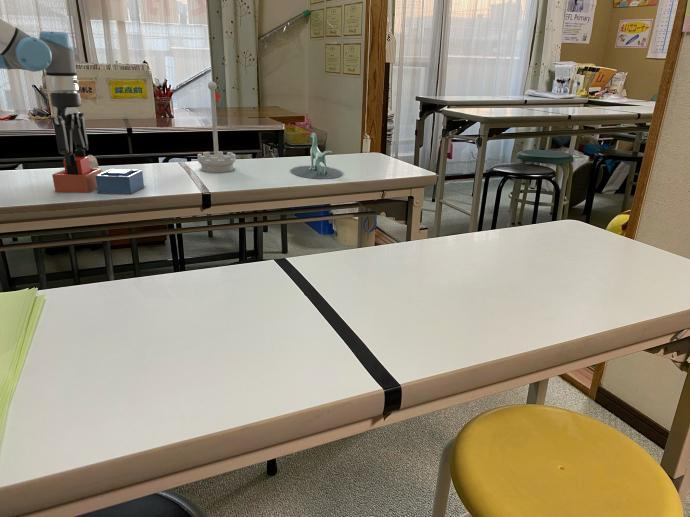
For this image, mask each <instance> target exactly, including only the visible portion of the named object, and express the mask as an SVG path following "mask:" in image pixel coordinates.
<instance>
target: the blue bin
mask: <svg viewBox="0 0 690 517" xmlns="http://www.w3.org/2000/svg"><path fill="white" fill-rule="evenodd" d="M115 169H116V168H110V169H107V170H105V171H104V172H103V173H101V174H98V175H96V183H97V189H96V190H97V193H98V194H114V195H115V194H117V195H132V194H134V193H136V192H138V191H139V190H141V189H142V188H144V187H145V183H144V174H143V169H131V170H132V175H130V176H108V172H110V171H112V170H115ZM121 169H122V168H121ZM122 170H124V169H122Z"/></svg>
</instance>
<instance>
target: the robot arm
mask: <svg viewBox="0 0 690 517" xmlns="http://www.w3.org/2000/svg"><path fill="white" fill-rule="evenodd" d="M38 35H39V37H38V38H37V37H34V36H31V35H30V34H27V33H26V32H25V31H23V30H21V29H19V28H18V27H16V26H15V25H13V24H12V23H10V22H9V21H7V20H6V19H4V18H3V17H1V16H0V70H8V71H9V70H23V71H29V72H33V73H35V72H42V71H44V70H45V75H46V81H47V87H48V91H50V93H49V97H50V98H49V99H50V104H51V106H52V107H53V108H56V116H51V122H52V124H53V128H54V134H55V140H56V146H57V151H58V154H59V155H63V156H64V159H65V162H66V168H67V174H70V175H78V171H77V164H76V158H75V157H87V156H86V151H88V150H89V140H88V134H87V128H86V123H85V122H86V121H85V120H86V118H85V116H86V114H85V113H84V112H79V109H78V108H79V107H81V106H82V98H81V93H79V92H78V91H80V87H79V82H80V80H78V75H77V68H76V61H75V60H76V59H75V51H74V46H73V43H72V38H71V36H70V34H69V33H67V32H64V31H40V32H39V34H38ZM73 145H74V147H75V150H74V149H73V148H74V147H73ZM73 150H74V151H73Z"/></svg>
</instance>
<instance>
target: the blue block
mask: <svg viewBox="0 0 690 517" xmlns="http://www.w3.org/2000/svg"><path fill="white" fill-rule="evenodd" d="M114 169H115V170H112V171H110V172H108V176H130V175H132V170H133V169H123V170H122V168H121V169H118V168H114Z"/></svg>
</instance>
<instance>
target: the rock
mask: <svg viewBox="0 0 690 517" xmlns="http://www.w3.org/2000/svg"><path fill="white" fill-rule="evenodd" d="M87 157H89V163H90V168H92V169H100V166H99V163H98V160H97V157H96V156H93V155H92V154H87ZM103 172H105V171H104V170H102V173H103Z"/></svg>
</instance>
